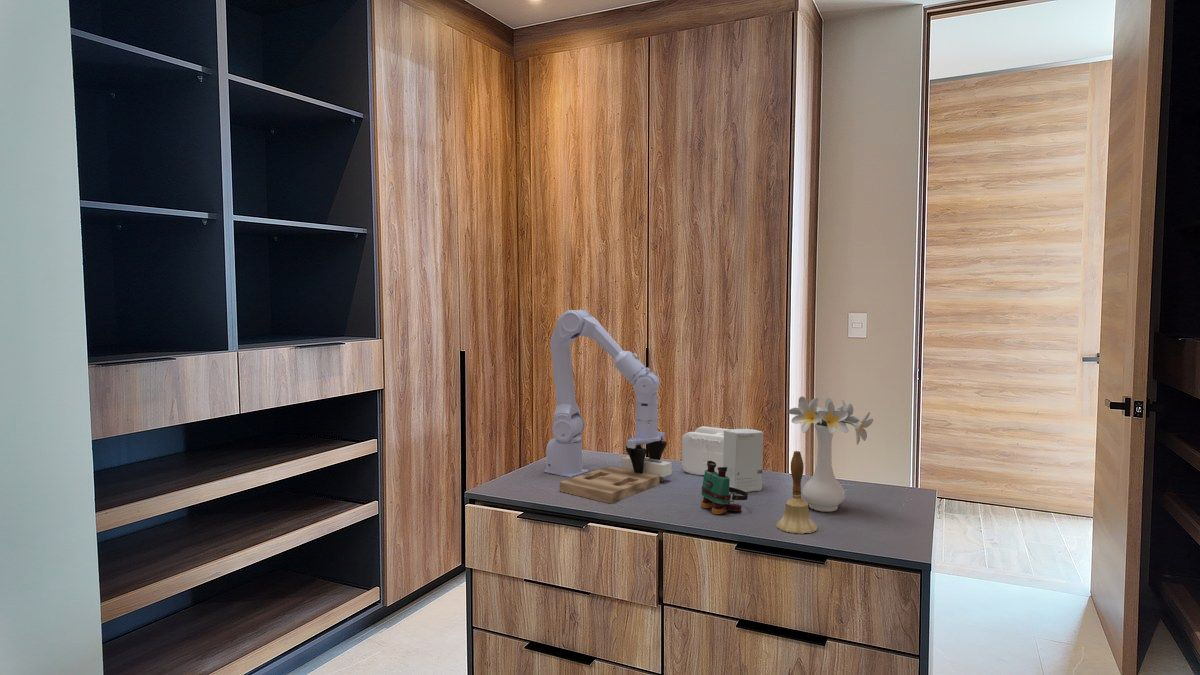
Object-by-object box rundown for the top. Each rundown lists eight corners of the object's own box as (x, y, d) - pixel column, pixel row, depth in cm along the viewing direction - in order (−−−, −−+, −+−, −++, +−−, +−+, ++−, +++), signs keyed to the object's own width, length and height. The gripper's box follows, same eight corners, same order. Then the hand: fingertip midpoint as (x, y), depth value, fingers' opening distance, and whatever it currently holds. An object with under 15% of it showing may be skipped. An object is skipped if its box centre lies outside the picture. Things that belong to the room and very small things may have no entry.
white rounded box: (747, 473, 191) (748, 431, 190) (732, 482, 182) (733, 437, 181) (696, 466, 199) (697, 425, 198) (679, 474, 190) (680, 431, 189)
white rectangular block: (621, 475, 187) (622, 457, 186) (630, 472, 190) (630, 454, 190) (663, 484, 179) (663, 464, 178) (671, 480, 182) (671, 461, 182)
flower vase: (863, 522, 150) (867, 405, 148) (778, 508, 159) (780, 399, 157) (874, 507, 161) (877, 398, 159) (793, 494, 170) (796, 392, 169)
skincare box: (734, 494, 171) (735, 433, 170) (721, 487, 176) (722, 429, 175) (763, 490, 174) (764, 431, 173) (749, 484, 179) (750, 426, 179)
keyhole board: (609, 475, 188) (609, 466, 188) (659, 485, 178) (659, 476, 178) (559, 491, 172) (559, 481, 172) (611, 503, 163) (611, 493, 162)
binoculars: (756, 468, 157) (718, 468, 153) (752, 515, 157) (713, 516, 153) (734, 459, 165) (697, 459, 161) (729, 504, 165) (692, 504, 161)
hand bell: (771, 529, 145) (772, 453, 144) (782, 518, 152) (784, 445, 151) (811, 537, 141) (813, 458, 140) (821, 525, 148) (823, 450, 147)
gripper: (643, 425, 175) (643, 479, 176) (674, 417, 186) (674, 468, 187) (620, 422, 179) (620, 474, 180) (652, 414, 191) (652, 464, 192)
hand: (646, 471), depth 184 cm, fingers open, 7 cm apart
